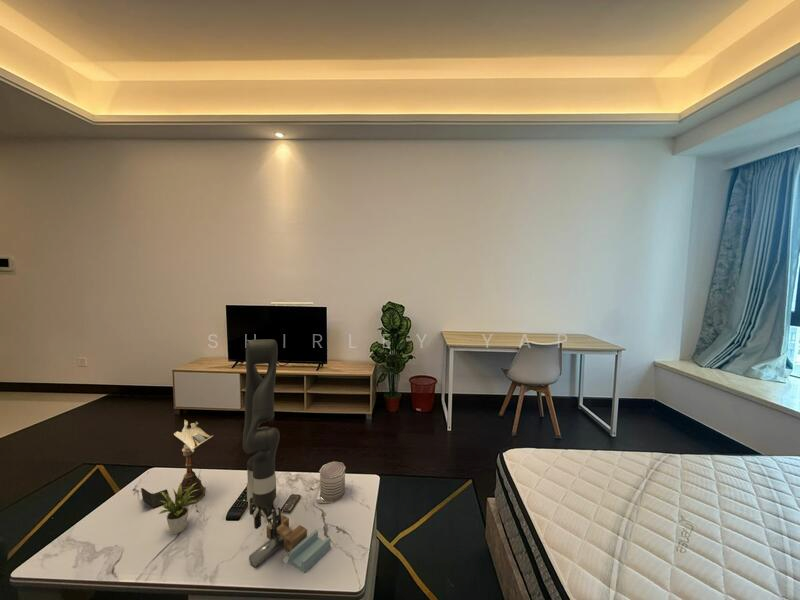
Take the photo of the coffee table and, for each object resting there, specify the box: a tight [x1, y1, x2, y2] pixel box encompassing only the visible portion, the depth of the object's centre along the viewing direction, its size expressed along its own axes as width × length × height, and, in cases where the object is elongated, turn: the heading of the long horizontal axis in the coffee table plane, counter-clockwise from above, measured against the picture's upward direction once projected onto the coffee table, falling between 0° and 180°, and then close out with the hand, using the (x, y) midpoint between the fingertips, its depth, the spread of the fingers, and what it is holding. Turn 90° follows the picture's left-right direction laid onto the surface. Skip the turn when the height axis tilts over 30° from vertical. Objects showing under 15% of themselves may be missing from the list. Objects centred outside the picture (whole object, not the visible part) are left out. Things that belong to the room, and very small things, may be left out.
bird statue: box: [173, 419, 215, 507], centre depth 143 cm, size 17×13×35 cm
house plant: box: [158, 482, 197, 535], centre depth 125 cm, size 14×14×16 cm
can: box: [318, 461, 346, 503], centre depth 146 cm, size 11×11×12 cm
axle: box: [248, 534, 284, 568], centre depth 115 cm, size 14×4×4 cm, turn 147°
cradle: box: [288, 529, 332, 573], centre depth 114 cm, size 8×12×4 cm, turn 147°
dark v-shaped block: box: [140, 487, 170, 510], centre depth 141 cm, size 12×7×10 cm
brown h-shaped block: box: [265, 513, 308, 553], centre depth 121 cm, size 14×7×6 cm, turn 57°
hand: (265, 532), depth 113 cm, fingers open, 8 cm apart
